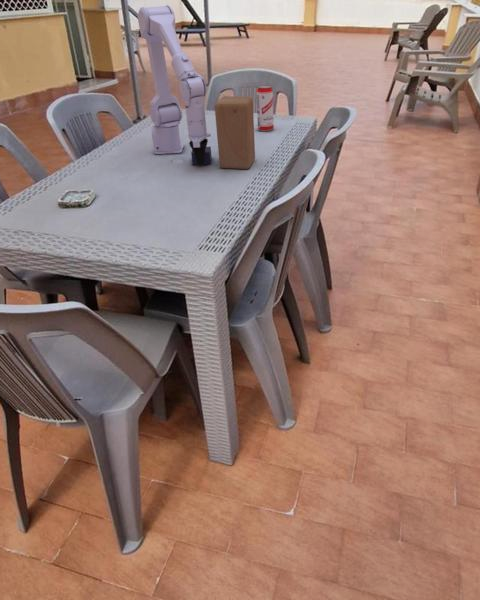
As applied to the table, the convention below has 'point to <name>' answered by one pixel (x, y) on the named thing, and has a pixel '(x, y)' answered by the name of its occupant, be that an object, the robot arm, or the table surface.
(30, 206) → the table surface
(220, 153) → the wooden block
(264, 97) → the beer can
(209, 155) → the navy block
